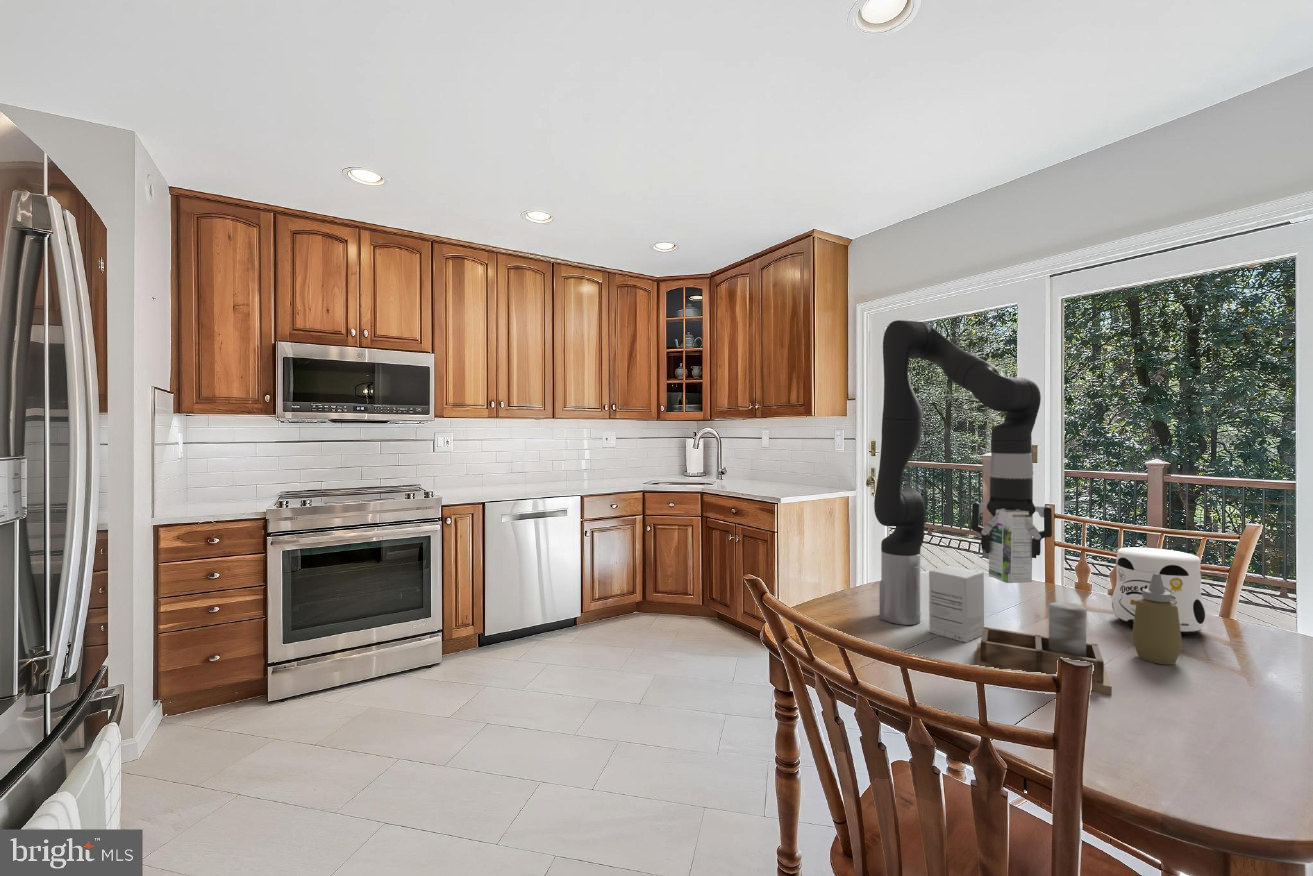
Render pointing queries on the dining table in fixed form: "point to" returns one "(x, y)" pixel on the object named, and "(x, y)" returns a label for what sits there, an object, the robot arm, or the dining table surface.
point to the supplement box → (956, 603)
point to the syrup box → (1011, 547)
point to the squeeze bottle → (1157, 625)
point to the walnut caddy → (1045, 646)
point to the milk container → (1177, 579)
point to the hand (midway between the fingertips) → (1010, 554)
